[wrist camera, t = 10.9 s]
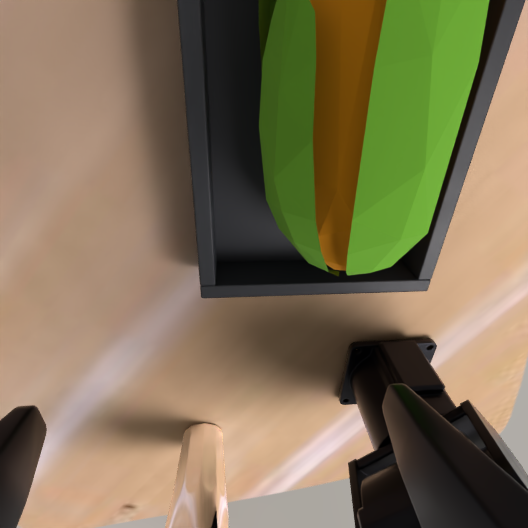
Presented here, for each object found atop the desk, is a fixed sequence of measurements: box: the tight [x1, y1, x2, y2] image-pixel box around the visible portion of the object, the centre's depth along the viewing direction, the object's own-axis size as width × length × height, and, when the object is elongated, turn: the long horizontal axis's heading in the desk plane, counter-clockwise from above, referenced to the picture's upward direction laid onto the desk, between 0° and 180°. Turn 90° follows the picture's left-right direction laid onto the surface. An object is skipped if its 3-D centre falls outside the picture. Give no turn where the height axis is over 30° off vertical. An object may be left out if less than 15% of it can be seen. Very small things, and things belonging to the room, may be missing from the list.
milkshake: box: [165, 423, 230, 528], centre depth 25 cm, size 4×5×10 cm
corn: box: [259, 0, 489, 276], centre depth 11 cm, size 7×8×20 cm
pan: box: [177, 0, 525, 298], centre depth 14 cm, size 25×13×3 cm, turn 178°
